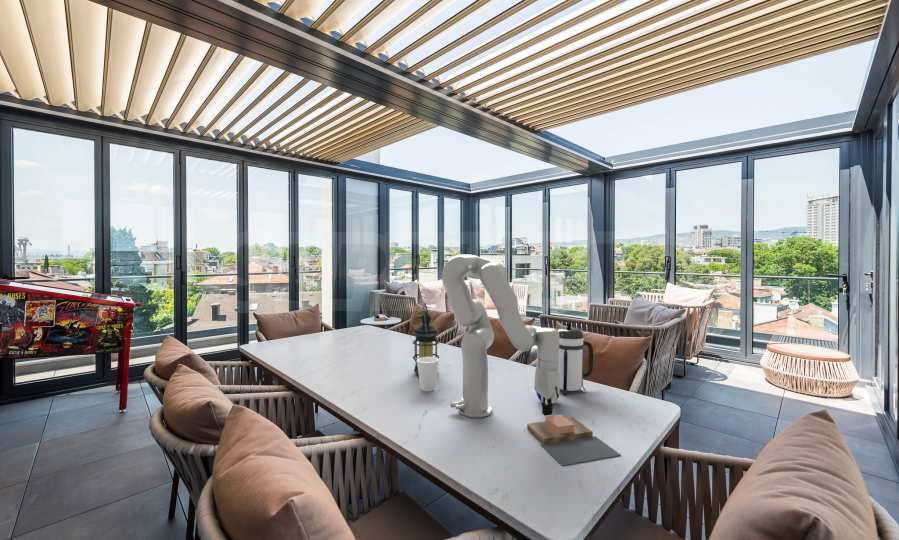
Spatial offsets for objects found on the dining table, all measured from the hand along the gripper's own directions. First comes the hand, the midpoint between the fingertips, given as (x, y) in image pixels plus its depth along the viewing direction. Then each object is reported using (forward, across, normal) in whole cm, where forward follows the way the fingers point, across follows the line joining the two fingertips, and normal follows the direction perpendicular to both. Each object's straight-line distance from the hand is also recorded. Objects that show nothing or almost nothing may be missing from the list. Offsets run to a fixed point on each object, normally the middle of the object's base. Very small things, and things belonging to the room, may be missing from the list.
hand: (547, 414), depth 137 cm
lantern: (+3, -66, -29) cm, 72 cm away
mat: (+3, +20, 0) cm, 20 cm away
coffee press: (+3, -26, +27) cm, 38 cm away
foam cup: (+3, -45, -33) cm, 56 cm away
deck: (+3, +8, 0) cm, 9 cm away
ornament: (+3, -16, +10) cm, 20 cm away
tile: (+1, +8, 0) cm, 8 cm away
